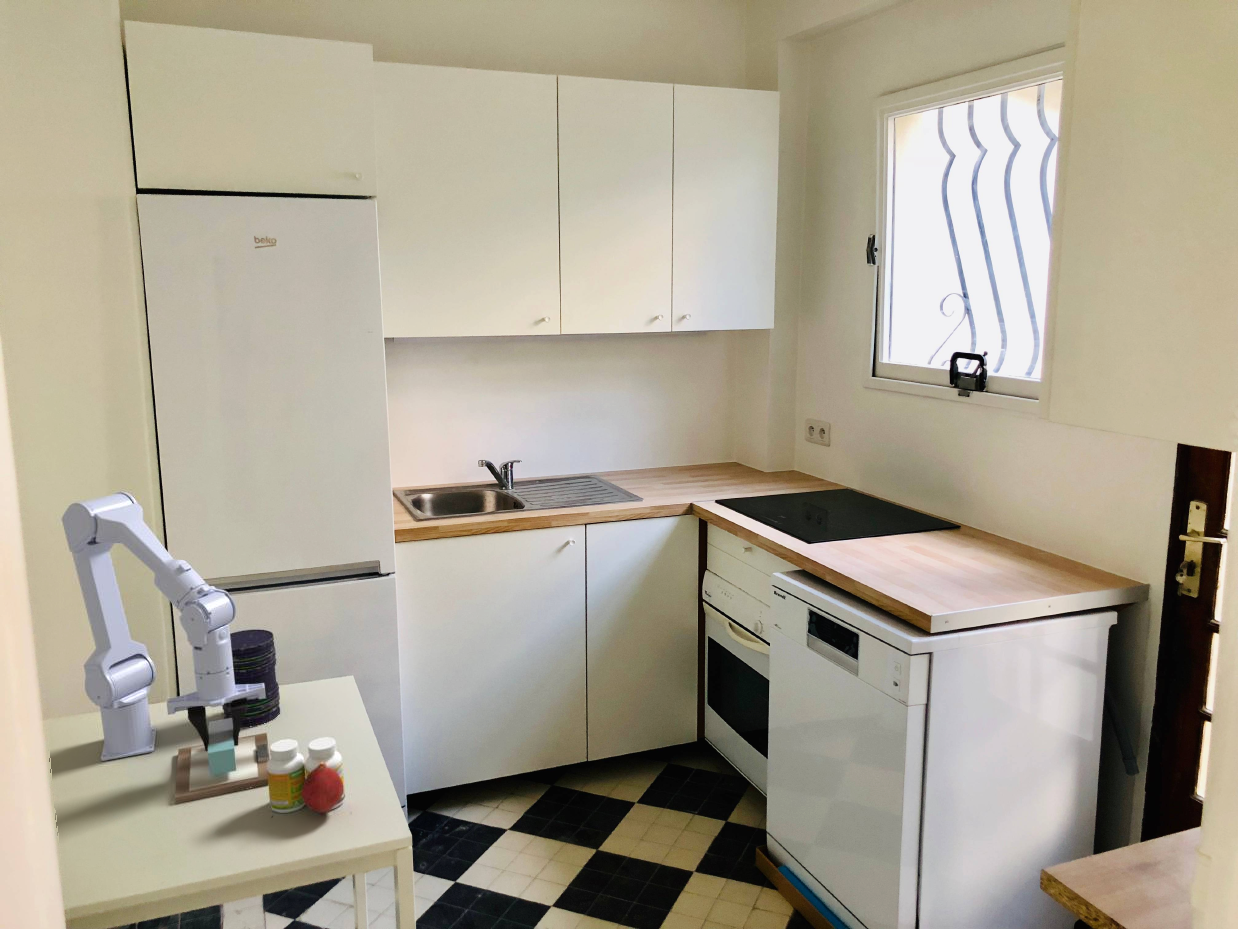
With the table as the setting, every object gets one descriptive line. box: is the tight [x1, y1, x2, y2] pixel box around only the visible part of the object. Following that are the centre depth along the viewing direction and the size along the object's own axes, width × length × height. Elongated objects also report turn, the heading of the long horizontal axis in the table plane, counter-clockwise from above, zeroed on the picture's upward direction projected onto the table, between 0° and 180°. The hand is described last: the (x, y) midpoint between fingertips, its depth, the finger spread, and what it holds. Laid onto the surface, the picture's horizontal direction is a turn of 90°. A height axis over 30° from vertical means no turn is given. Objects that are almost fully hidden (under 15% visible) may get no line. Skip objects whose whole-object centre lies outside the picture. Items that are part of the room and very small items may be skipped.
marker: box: [208, 718, 236, 776], centre depth 155 cm, size 14×4×4 cm, turn 23°
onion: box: [302, 762, 345, 814], centre depth 140 cm, size 6×6×8 cm
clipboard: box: [174, 732, 271, 804], centre depth 155 cm, size 17×14×2 cm
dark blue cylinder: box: [221, 628, 281, 729], centre depth 173 cm, size 10×10×15 cm
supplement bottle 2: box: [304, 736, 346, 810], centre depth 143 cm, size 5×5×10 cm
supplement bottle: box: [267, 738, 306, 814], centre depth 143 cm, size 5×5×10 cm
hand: (221, 746), depth 154 cm, fingers closed on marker, 4 cm apart
